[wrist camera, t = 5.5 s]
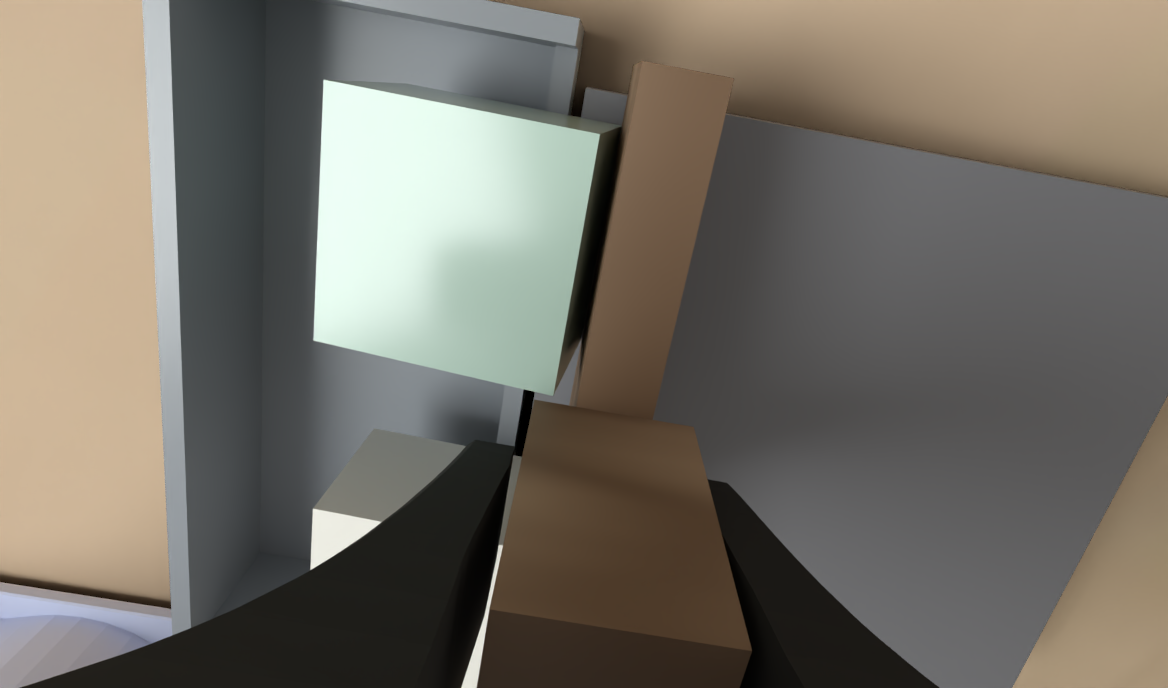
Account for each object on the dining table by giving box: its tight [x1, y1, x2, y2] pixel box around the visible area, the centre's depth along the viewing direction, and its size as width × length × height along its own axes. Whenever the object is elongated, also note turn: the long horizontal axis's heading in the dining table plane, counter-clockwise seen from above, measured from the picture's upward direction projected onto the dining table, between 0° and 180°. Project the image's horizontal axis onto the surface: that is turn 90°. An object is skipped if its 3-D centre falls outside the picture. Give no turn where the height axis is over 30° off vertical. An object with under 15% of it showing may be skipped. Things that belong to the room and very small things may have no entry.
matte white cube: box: [310, 428, 522, 688], centre depth 14 cm, size 4×4×3 cm
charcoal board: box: [531, 87, 1168, 688], centre depth 15 cm, size 12×12×2 cm
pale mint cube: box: [313, 80, 622, 396], centre depth 12 cm, size 4×4×3 cm
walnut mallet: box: [477, 61, 752, 688], centre depth 11 cm, size 2×13×8 cm, turn 170°
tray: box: [142, 0, 584, 635], centre depth 14 cm, size 6×14×4 cm, turn 170°
